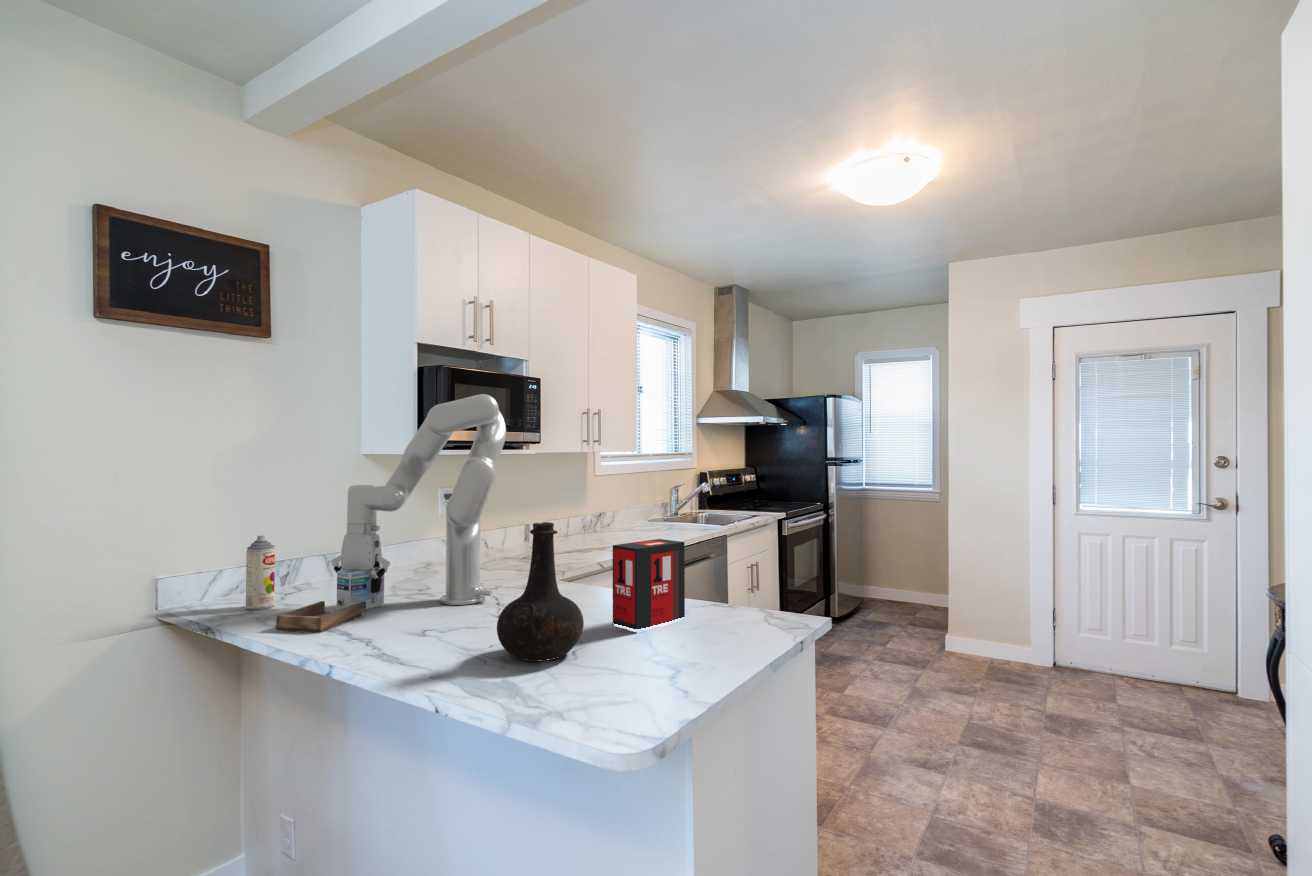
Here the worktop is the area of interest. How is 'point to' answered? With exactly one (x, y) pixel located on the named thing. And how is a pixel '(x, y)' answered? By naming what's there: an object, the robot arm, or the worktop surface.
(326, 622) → the tray
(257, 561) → the aerosol can
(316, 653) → the worktop surface
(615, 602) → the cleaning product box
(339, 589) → the light bulb box
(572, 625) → the glass bottle
